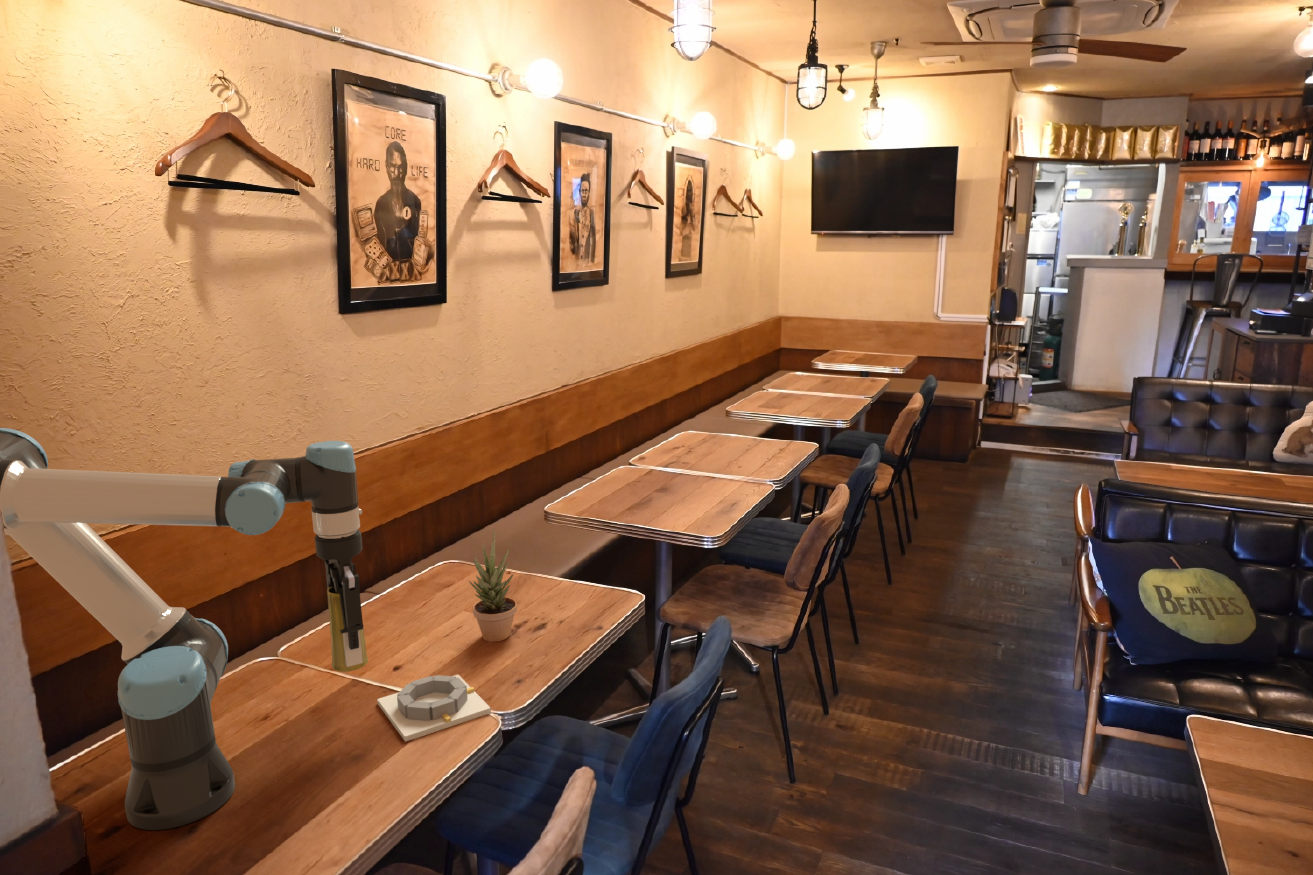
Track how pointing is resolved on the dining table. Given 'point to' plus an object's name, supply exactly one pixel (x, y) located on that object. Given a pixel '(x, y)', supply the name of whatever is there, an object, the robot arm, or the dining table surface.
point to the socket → (432, 705)
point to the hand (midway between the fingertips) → (349, 656)
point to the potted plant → (493, 599)
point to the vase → (341, 635)
